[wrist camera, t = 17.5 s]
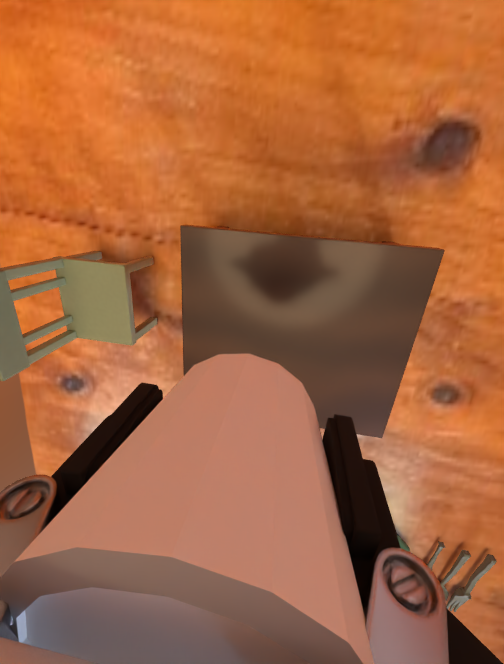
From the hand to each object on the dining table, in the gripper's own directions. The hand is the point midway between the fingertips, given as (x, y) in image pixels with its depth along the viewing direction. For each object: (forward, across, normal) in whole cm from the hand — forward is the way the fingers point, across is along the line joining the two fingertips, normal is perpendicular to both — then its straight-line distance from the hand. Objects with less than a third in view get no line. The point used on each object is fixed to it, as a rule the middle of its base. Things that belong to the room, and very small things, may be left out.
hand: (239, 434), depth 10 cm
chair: (+22, +17, +2) cm, 28 cm away
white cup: (+1, 0, 0) cm, 1 cm away
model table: (+22, -2, +2) cm, 22 cm away
